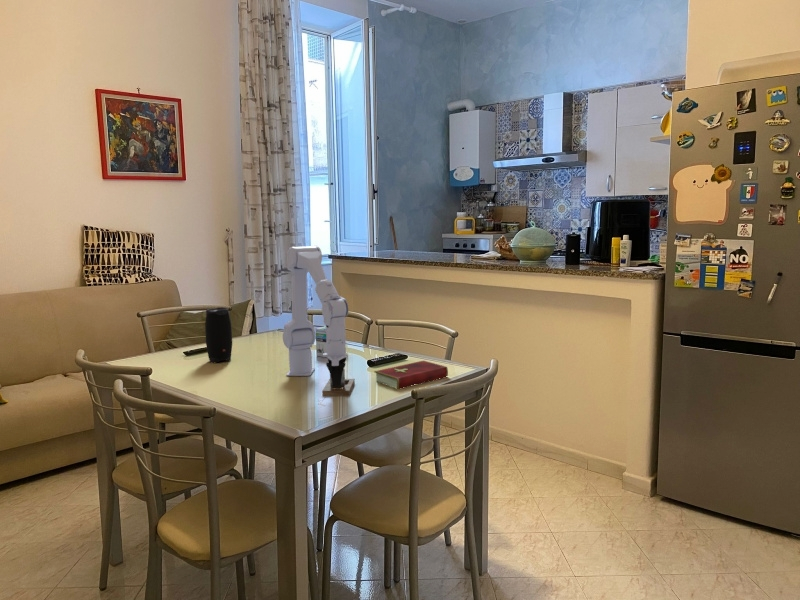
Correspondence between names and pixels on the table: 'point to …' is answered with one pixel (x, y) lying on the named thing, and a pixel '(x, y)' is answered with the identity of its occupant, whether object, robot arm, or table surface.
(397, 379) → the hardcover book
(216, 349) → the portable speaker
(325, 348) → the light bulb box
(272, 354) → the table surface
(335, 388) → the peg
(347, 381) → the keyhole plate
